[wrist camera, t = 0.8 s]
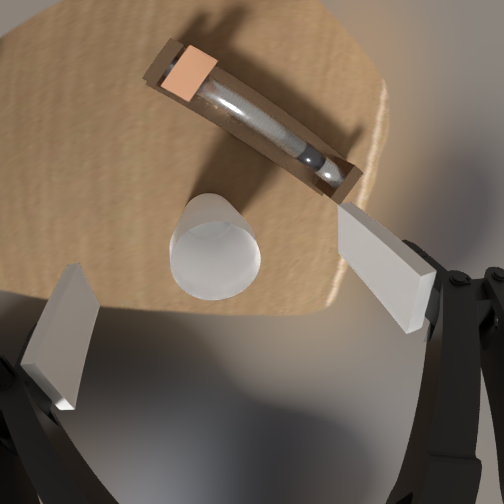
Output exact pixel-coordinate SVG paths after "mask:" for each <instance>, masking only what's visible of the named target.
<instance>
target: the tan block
mask: <svg viewBox="0 0 504 504" xmlns="http://www.w3.org/2000/svg"><path fill="white" fill-rule="evenodd" d="M217 62H218V61H217V60H216V59H214V58H212V57H211V56H209V55H207V54H206V53H204V52H202V51H200V50H199V49H197V48H195V47H193V46H191V45H189V47H188V48H187V49H186V51H185V52H184V53H183V55H182V56H181V58H180V59H179V60H178V62H177V63H176V65H175V66H174V67H173V69H172V70H171V72H170V73H169V75H168V76H167V78H166V79H165V80H164V82H163V83H162V85H161V87H163V88H165V89H167V90H169V91H170V92H172V93H174V94H176V95H177V96H179V97H181V98H183V99H184V100H186V101H188V102H190V100H191V99H192V97H193V96H194V94H195V93H196V91H197V90H198V88H199V87H200V85H201V84H202V83H203V81H204V80H205V78H206V77H207V76H208V74H209V73H210V72H211V70H212V69H213V68H214V66H215V65H216V63H217Z"/></svg>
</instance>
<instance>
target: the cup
mask: <svg viewBox="0 0 504 504" xmlns="http://www.w3.org/2000/svg"><path fill="white" fill-rule="evenodd" d="M170 266H171V271H172V275H173V277H174V279H175V281H176V282H177V284H178V285H179V286H180V287H181V288H182V289H183V290H184V291H185V292H187V293H188V294H190V295H192V296H194V297H196V298H200V299H204V300H223V299H227V298H230V297H233V296H235V295H237V294H239V293H241V292H242V291H244V290H245V289H246V288H247V287H248V286H249V285H250V284H251V283H252V282H253V280H254V279H255V277H256V275H257V273H258V271H259V267H260V251H259V248H258V245H257V242H256V238H255V234H254V232H253V230H252V228H251V226H250V225H249V224H248V222H247V221H246V220H245V219H244V218H243V217H242V216H241V215H240V214H239V213H238V211H237V210H236V209H235V208H234V207H233V206H232V205H231V204H230V203H229V202H228V201H227V200H226V199H225V198H224V197H222V196H220V195H217V194H213V193H205V194H200V195H198V196H196V197H194V198H193V199H191V200H190V201H189V202H188V204H187V205H186V207H185V209H184V211H183V213H182V215H181V217H180V219H179V221H178V224H177V226H176V228H175V230H174V233H173V235H172V238H171V242H170Z"/></svg>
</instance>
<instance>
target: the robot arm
mask: <svg viewBox="0 0 504 504" xmlns="http://www.w3.org/2000/svg"><path fill="white" fill-rule="evenodd" d="M338 252H339V254H340V255H341V256H342V257H343V258H344V259H345V260H346V262H347V263H348V264H349V265H350V266H351V267H352V268H353V270H354V271H355V272H356V273H357V274H358V275H359V277H360V278H361V279H362V280H363V281H364V282H365V284H366V285H367V286H368V287H369V288H370V289H371V291H372V292H373V293H374V294H375V296H376V297H377V298H378V299H379V300H380V302H381V303H382V304H383V305H384V306H385V308H386V309H387V310H388V311H389V312H390V314H391V315H392V316H393V317H394V319H395V320H396V321H397V322H398V324H399V325H400V326H401V327H402V329H403V330H404V331H405V332H406V334H408V333H410V332H413V331H415V330H417V329H420V328H421V327H422V324H423V321H424V317H426V318H427V319H428V320H429V321H430V324H429V327H428V330H427V333H426V336H425V339H424V342H426V341H427V344H426V353H425V361H424V368H423V374H422V381H421V387H420V392H419V398H418V403H417V408H416V413H415V417H414V422H413V426H412V430H411V434H410V438H409V442H408V446H407V450H406V453H405V457H404V460H403V463H402V467H401V470H400V473H399V476H398V479H397V482H396V484H395V486H394V487H393V489H392V491H391V493H390V495H389V497H388V499H387V501H386V504H475V502H476V497H477V493H478V489H479V483H480V478H481V471H482V464H481V461H480V460H479V459H478V458H476V455H475V450H476V442H477V434H478V423H479V410H480V386H481V384H480V383H481V369H482V373H483V377H484V382H485V386H486V390H487V395H488V400H489V404H490V410H491V415H492V421H493V427H494V434H495V441H496V449H497V457H498V458H497V459H498V470H499V482H500V489H501V495H502V500H503V503H504V270H503V269H502V268H499V267H489V268H488V269H487V270H486V272H485V275H484V278H482V279H471V278H470V277H469V276H468V275H467V274H465V273H463V272H460V271H455V270H454V271H453V270H451V271H447V270H446V269H445V268H444V267H442V266H441V265H440V264H439V263H438V262H436V261H435V260H434V259H433V258H431V257H430V256H428V254H427V253H426V252H424V251H423V250H422V249H421V248H419V247H418V246H417V245H416V244H414V243H411V242H409V241H407V240H402V241H401V240H400V239H398V238H397V237H396V236H395V235H393V234H392V233H391V232H390V231H388V230H387V229H386V228H385V227H383V226H382V225H381V224H380V223H378V222H377V221H376V220H374V219H373V218H372V217H370V216H369V215H368V214H366V213H365V212H364V211H363V210H361V209H360V208H358V207H357V206H356V205H354V204H353V203H352V202H349V203H343V204H338ZM99 307H100V305H99V303H98V301H97V299H96V297H95V295H94V293H93V291H92V289H91V287H90V285H89V283H88V281H87V278H86V276H85V274H84V272H83V270H82V267H81V265H80V263H75V264H71V265H67V267H66V268H65V270H64V272H63V274H62V276H61V277H60V279H59V281H58V283H57V285H56V287H55V289H54V291H53V293H52V295H51V296H50V298H49V300H48V302H47V304H46V307H45V309H44V311H43V313H42V315H41V317H40V319H39V322H38V323H36V324H35V325H34V327H33V328H32V329H31V330H30V332H29V334H28V336H27V339H26V342H25V343H24V345H23V349H22V350H21V352H20V355H19V357H18V359H17V362H16V364H15V367H14V368H13V366H12V365H11V364H10V363H9V362H8V360H7V359H6V358H5V356H3V355H0V504H40V501H39V498H38V495H39V497H40V499H41V501H42V502H43V504H119V503H118V502H117V501H116V500H115V499H114V497H113V496H112V495H111V494H110V493H109V491H108V490H107V489H106V488H105V486H104V485H103V484H102V483H101V481H100V480H99V479H98V478H97V476H96V475H95V474H94V472H93V471H92V470H91V468H90V467H89V466H88V464H87V463H86V461H85V460H84V459H83V457H82V456H81V454H80V453H79V451H78V450H77V448H76V447H75V446H74V444H73V442H72V441H71V439H70V438H69V436H68V434H67V433H66V431H65V430H64V428H63V426H62V425H61V423H60V421H59V420H58V418H57V416H56V414H55V413H54V412H53V411H52V410H51V409H50V407H51V403H52V402H53V403H54V404H55V405H56V406H57V407H58V408H59V409H60V410H69V409H70V410H71V409H75V405H76V399H77V394H78V389H79V385H80V380H81V375H82V371H83V366H84V362H85V358H86V354H87V350H88V346H89V342H90V338H91V335H92V331H93V327H94V324H95V320H96V316H97V313H98V310H99ZM497 319H498V322H497ZM480 368H481V369H480ZM37 494H38V495H37Z"/></svg>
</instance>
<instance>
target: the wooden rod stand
mask: <svg viewBox="0 0 504 504" xmlns="http://www.w3.org/2000/svg"><path fill="white" fill-rule="evenodd" d="M185 51H186V48H184V45H183V44H181V43H179V42H178V41H176V40H174V39H172V38H170V39H169V41H168V42H167V43H166V45H165V46H164V47H163V49H162V50H161V52H160V53H159V54H158V56H157V57H156V59H155V60H154V62H153V63H152V64H151V66H150V67H149V69H148V70H147V72H146V73H145V75H144V76H143V78H142V79H144V80H146V81H147V83H146V85H148V86H149V87H151V88H153V89H155V90H157V91H159V92H161V93H162V94H164V95H166V96H168V97H170V98H171V99H173V100H175V101H177V102H179V103H180V104H182V105H184V106H186V107H187V108H189V109H191V110H192V111H194V112H196V113H198V114H199V115H201V116H203V117H204V118H206V119H208V120H209V121H211V122H213V123H214V124H216V125H218V126H219V127H221V128H222V129H224V130H226V131H227V132H229V133H230V134H232V135H234V136H235V137H237V138H238V139H240V140H242V141H243V142H245V143H246V144H248V145H249V146H251V147H252V148H254V149H255V150H257V151H258V152H260V153H261V154H263V155H264V156H266V157H267V158H269V159H270V160H272V161H273V162H275V163H276V164H278V165H279V166H281V167H282V168H284V169H285V170H286V171H288V172H289V173H291V174H292V175H294V176H295V177H296V178H298V179H299V180H301V181H302V182H304V183H305V184H306V185H308V186H309V187H310V188H312V189H313V190H315V191H316V192H317V193H319V194H320V195H321V196H322V195H323V194H326V195H327V196H328V197H329V198H331V199H332V200H333V201H335V202H336V203H337V204H341V203H342V201H343V200H344V199H345V197H346V196H347V195H348V193H349V192H350V190H351V189H352V188H353V186H354V185H355V184H356V182H357V181H358V180H359V178H360V177H361V175H362V174H363V172H362V171H361V170H360V169H359V168H357V167H356V166H355V165H353V164H351V163H349V162H347V160H346V159H344V158H343V157H342V156H341V155H340V154H339V153H337V152H336V151H335V150H334V149H333V148H331V147H330V146H329V145H328V144H326V143H325V142H324V141H323V140H321V139H320V138H319V137H318V136H316V135H315V134H314V133H313V132H311V131H310V130H309V129H308V128H306V127H305V126H304V125H302V124H301V123H300V122H298V121H297V120H296V119H294V118H293V117H292V116H290V115H289V114H288V113H286V112H285V111H284V110H282V109H281V108H279V107H278V106H277V105H275V104H274V103H272V102H271V101H270V100H268V99H267V98H265V97H264V96H262V95H261V94H259V93H258V92H256V91H255V90H254V89H252V88H251V87H249V86H247V85H246V84H244V83H243V82H241V81H240V80H238V79H237V78H235V77H234V76H232V75H230V74H229V73H227V72H226V71H224V70H222V69H221V68H219V67H217V66H216V65H215V66H214V68H213V69H212V70H211V72H210V73H209V74H208V76H207V77H206V78H205V80H204V81H203V83H202V84H201V85H200V87H199V88H198V90H197V91H196V93H195V94H194V96H193V97H192V99H191V100H190V102H188V101H186V100H184V99H183V98H181V97H179V96H177V95H176V94H174V93H172V92H170V91H169V90H167V89H165V88H163V87H161V85H162V83H163V82H164V80H165V79H166V78H167V76H168V75H169V73H170V72H171V70H172V69H173V67H174V66H175V65H176V63H177V62H178V60H179V59H180V58H181V56H182V55H183V53H184V52H185Z"/></svg>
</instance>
